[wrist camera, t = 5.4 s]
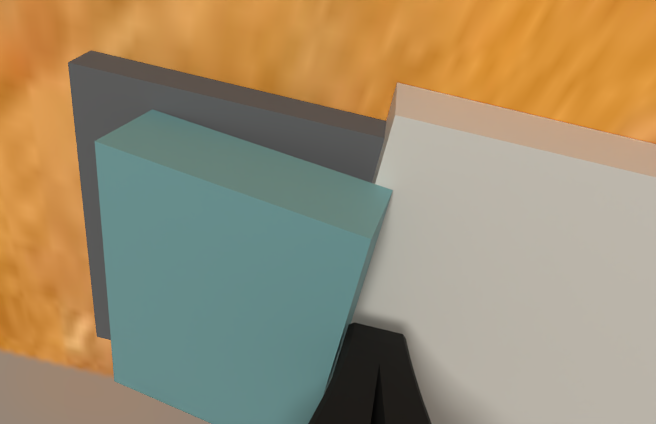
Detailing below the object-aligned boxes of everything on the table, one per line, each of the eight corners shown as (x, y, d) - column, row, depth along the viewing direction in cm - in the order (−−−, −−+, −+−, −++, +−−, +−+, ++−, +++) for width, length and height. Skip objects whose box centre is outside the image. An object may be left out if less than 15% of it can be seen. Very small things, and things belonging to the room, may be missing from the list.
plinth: (980, 221, 12) (1075, 277, 10) (704, 458, 18) (734, 518, 16) (396, 82, 12) (394, 114, 10) (317, 365, 18) (308, 414, 16)
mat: (386, 121, 12) (384, 138, 11) (317, 365, 18) (312, 388, 17) (91, 50, 12) (67, 62, 11) (111, 315, 18) (97, 336, 17)
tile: (392, 190, 11) (371, 238, 9) (324, 404, 15) (301, 463, 14) (152, 109, 12) (94, 141, 10) (154, 333, 16) (114, 381, 15)
